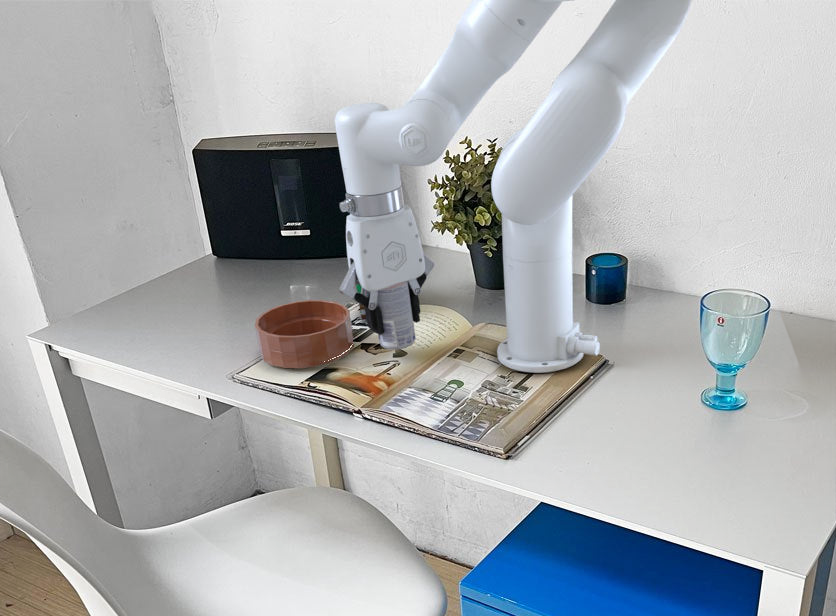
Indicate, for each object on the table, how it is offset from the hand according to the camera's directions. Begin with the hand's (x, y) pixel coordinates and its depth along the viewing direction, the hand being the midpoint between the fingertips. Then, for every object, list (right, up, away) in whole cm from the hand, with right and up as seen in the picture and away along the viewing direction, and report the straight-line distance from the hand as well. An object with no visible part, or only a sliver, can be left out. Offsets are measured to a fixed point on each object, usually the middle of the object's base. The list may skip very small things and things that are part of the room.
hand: (395, 324), depth 143 cm
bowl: (-14, -3, +6) cm, 15 cm away
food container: (-4, +6, +19) cm, 20 cm away
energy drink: (0, -3, +2) cm, 3 cm away
